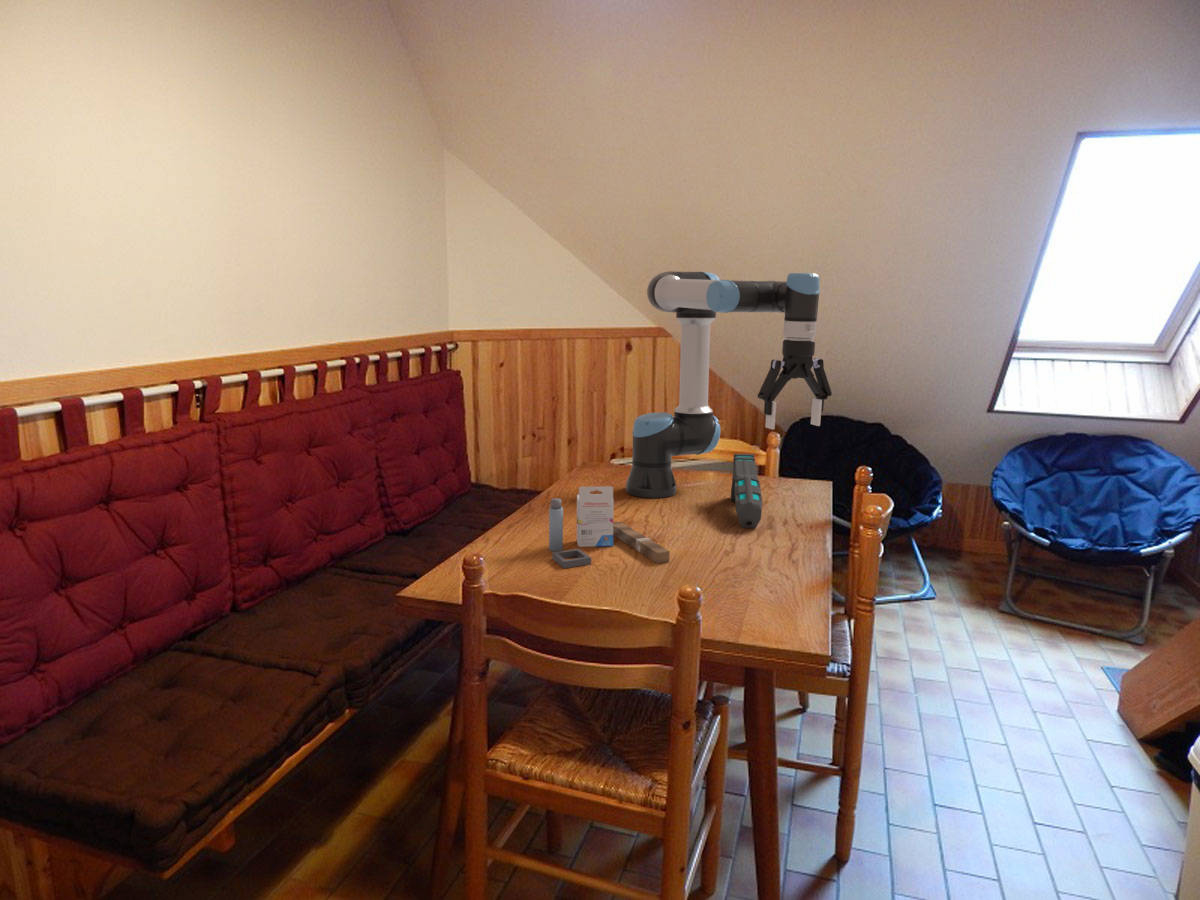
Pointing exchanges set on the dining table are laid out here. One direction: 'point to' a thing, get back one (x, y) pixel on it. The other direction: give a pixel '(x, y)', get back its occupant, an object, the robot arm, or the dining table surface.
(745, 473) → the gun
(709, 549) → the dining table surface
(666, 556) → the grey-brown long bar
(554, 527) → the blue bottle
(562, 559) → the holder
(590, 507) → the ink box
